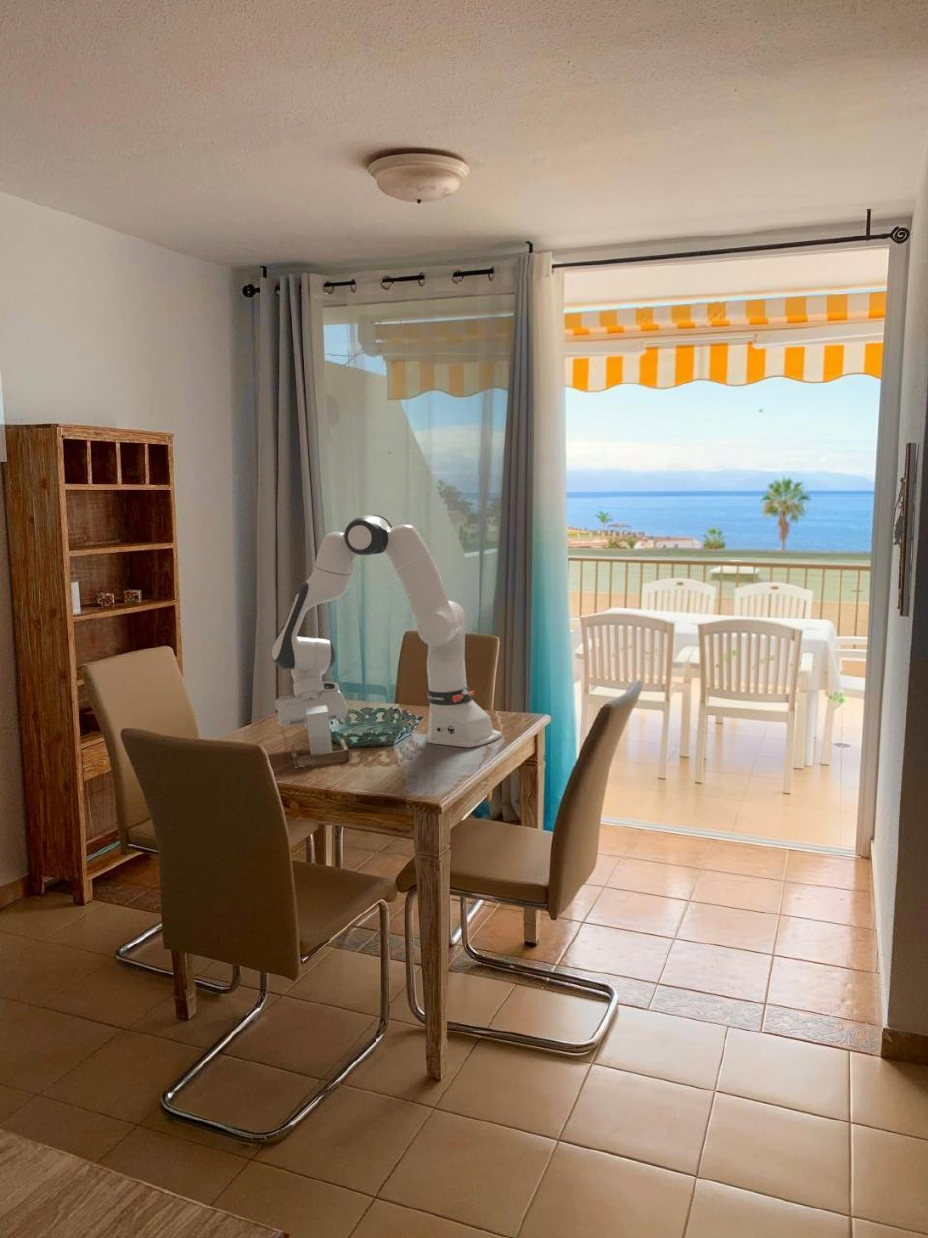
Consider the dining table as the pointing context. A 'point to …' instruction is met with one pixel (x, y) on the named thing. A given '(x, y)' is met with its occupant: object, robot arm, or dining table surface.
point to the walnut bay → (321, 756)
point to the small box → (318, 729)
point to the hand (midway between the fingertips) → (315, 733)
